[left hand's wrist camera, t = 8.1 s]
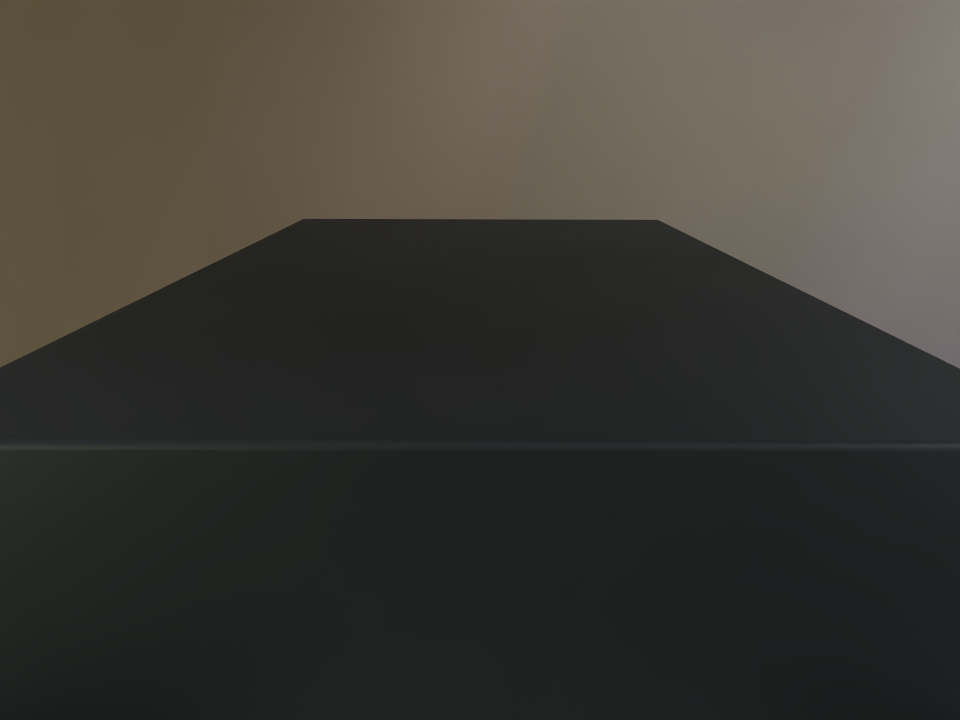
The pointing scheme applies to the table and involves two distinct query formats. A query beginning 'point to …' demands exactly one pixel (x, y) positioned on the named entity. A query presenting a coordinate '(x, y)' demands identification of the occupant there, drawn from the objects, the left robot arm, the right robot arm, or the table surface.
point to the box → (479, 490)
